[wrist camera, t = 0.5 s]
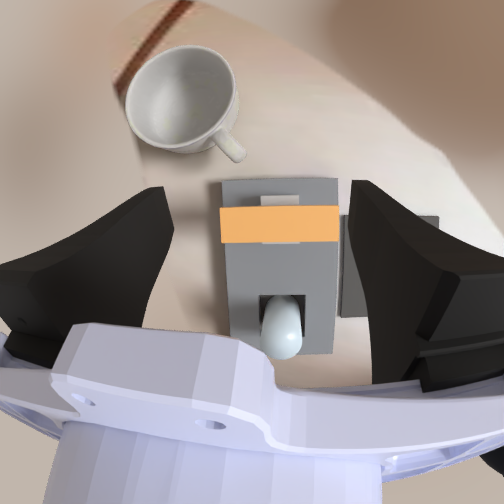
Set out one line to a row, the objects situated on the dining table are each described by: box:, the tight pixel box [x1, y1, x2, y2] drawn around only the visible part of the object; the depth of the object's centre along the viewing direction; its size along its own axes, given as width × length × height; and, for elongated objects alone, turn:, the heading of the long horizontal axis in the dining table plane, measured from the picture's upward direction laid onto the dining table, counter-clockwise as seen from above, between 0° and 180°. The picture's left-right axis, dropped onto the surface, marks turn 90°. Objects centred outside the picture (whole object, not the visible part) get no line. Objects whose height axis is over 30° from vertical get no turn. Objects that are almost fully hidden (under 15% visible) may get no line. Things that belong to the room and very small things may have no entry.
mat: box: [341, 215, 439, 318], centre depth 33 cm, size 12×12×1 cm
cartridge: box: [260, 295, 302, 360], centre depth 32 cm, size 4×4×8 cm
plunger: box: [220, 205, 339, 243], centre depth 27 cm, size 3×10×4 cm, turn 92°
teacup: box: [125, 45, 247, 163], centre depth 28 cm, size 14×11×8 cm
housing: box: [222, 178, 338, 355], centre depth 32 cm, size 20×12×5 cm, turn 2°
